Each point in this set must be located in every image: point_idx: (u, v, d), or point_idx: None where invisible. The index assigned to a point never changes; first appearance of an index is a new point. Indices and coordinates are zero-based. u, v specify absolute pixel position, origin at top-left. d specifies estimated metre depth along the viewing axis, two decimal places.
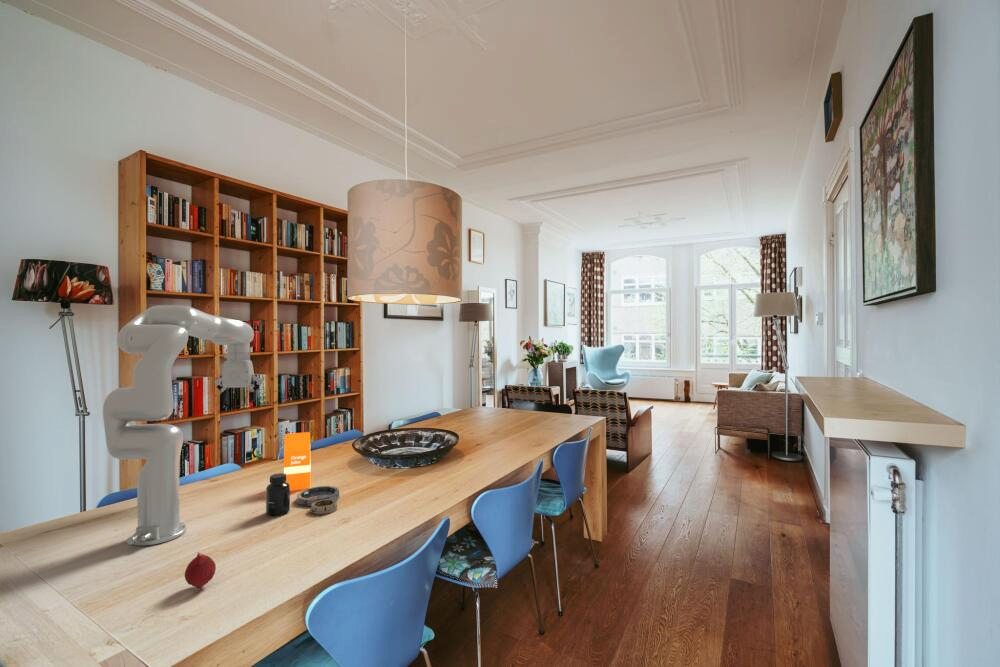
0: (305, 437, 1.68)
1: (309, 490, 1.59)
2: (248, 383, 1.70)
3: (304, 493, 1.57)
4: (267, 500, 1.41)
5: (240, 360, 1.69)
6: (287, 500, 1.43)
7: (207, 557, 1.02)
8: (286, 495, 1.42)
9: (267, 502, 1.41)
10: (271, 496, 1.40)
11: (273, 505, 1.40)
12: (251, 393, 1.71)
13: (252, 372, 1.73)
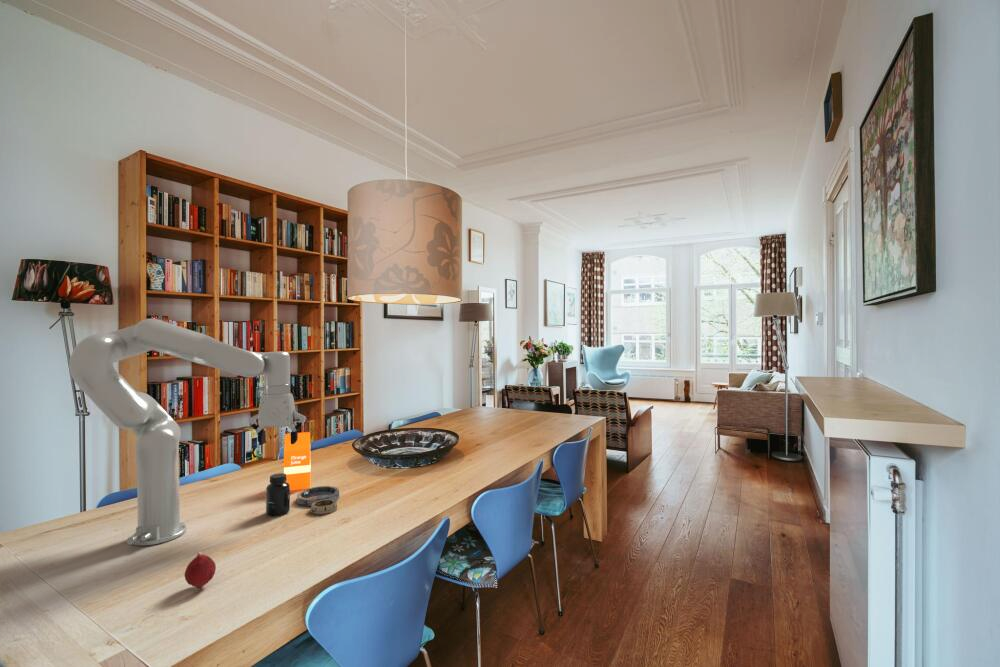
0: (305, 437, 1.68)
1: (309, 490, 1.59)
2: (289, 422, 1.41)
3: (304, 493, 1.57)
4: (267, 500, 1.41)
5: (280, 394, 1.41)
6: (287, 500, 1.43)
7: (207, 557, 1.02)
8: (286, 495, 1.42)
9: (267, 502, 1.41)
10: (271, 496, 1.40)
11: (273, 505, 1.40)
12: (293, 433, 1.43)
13: (293, 408, 1.44)
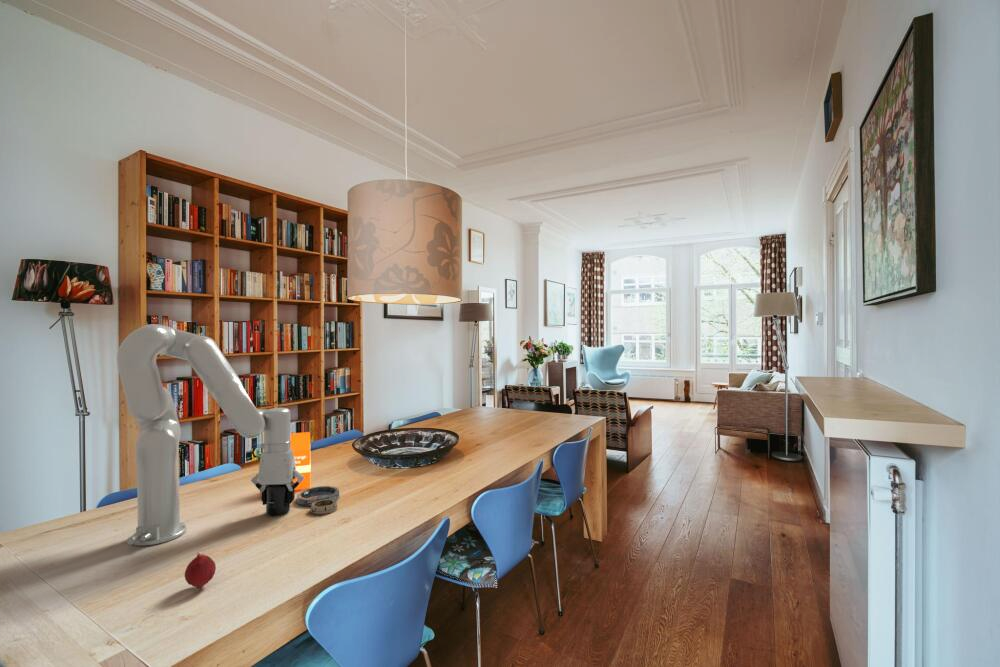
0: (305, 437, 1.68)
1: (309, 490, 1.59)
2: (290, 479, 1.41)
3: (304, 493, 1.57)
4: (267, 500, 1.41)
5: (280, 452, 1.41)
6: None
7: (207, 557, 1.02)
8: (286, 494, 1.43)
9: (267, 502, 1.41)
10: (271, 496, 1.40)
11: (273, 505, 1.40)
12: (289, 493, 1.43)
13: (294, 464, 1.44)
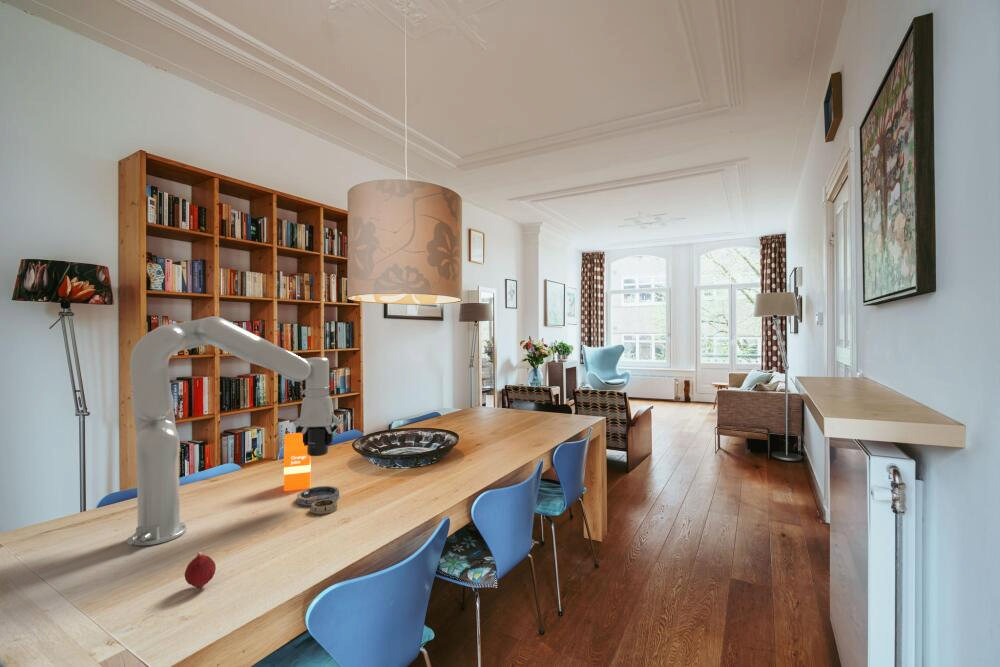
0: None
1: (309, 490, 1.59)
2: (329, 422, 1.53)
3: (304, 493, 1.57)
4: (308, 441, 1.52)
5: (321, 397, 1.52)
6: (326, 442, 1.55)
7: (207, 557, 1.02)
8: (325, 436, 1.54)
9: (308, 443, 1.52)
10: (312, 437, 1.52)
11: (314, 446, 1.52)
12: (328, 435, 1.54)
13: (332, 409, 1.56)
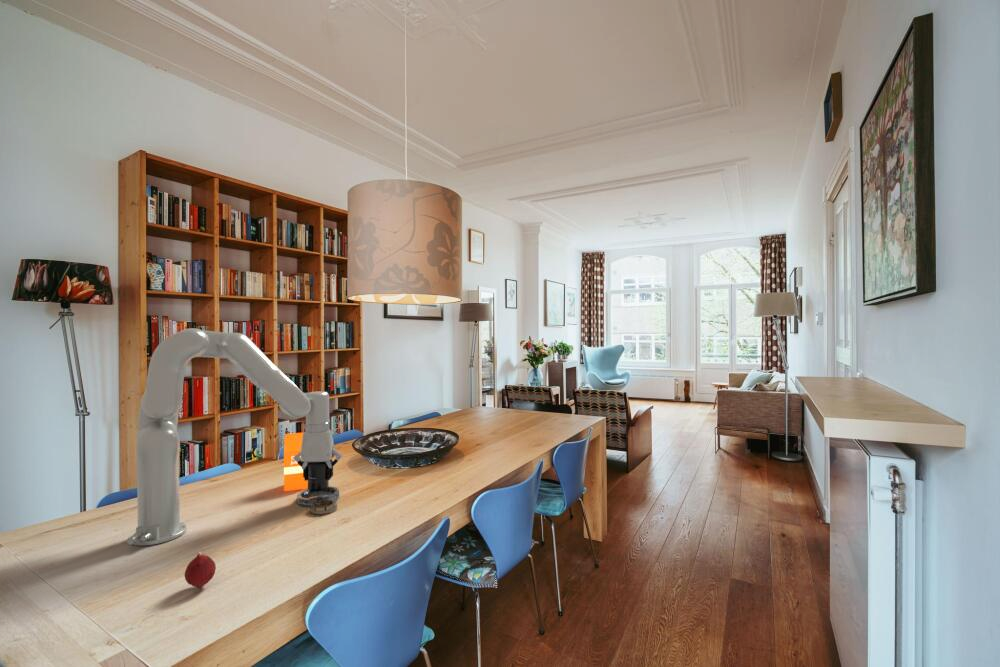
0: None
1: (309, 490, 1.59)
2: (329, 457, 1.53)
3: (304, 493, 1.57)
4: (309, 476, 1.53)
5: (321, 432, 1.52)
6: None
7: (207, 557, 1.02)
8: (326, 471, 1.54)
9: (309, 478, 1.53)
10: (313, 472, 1.52)
11: (315, 481, 1.52)
12: (329, 470, 1.54)
13: (332, 444, 1.56)
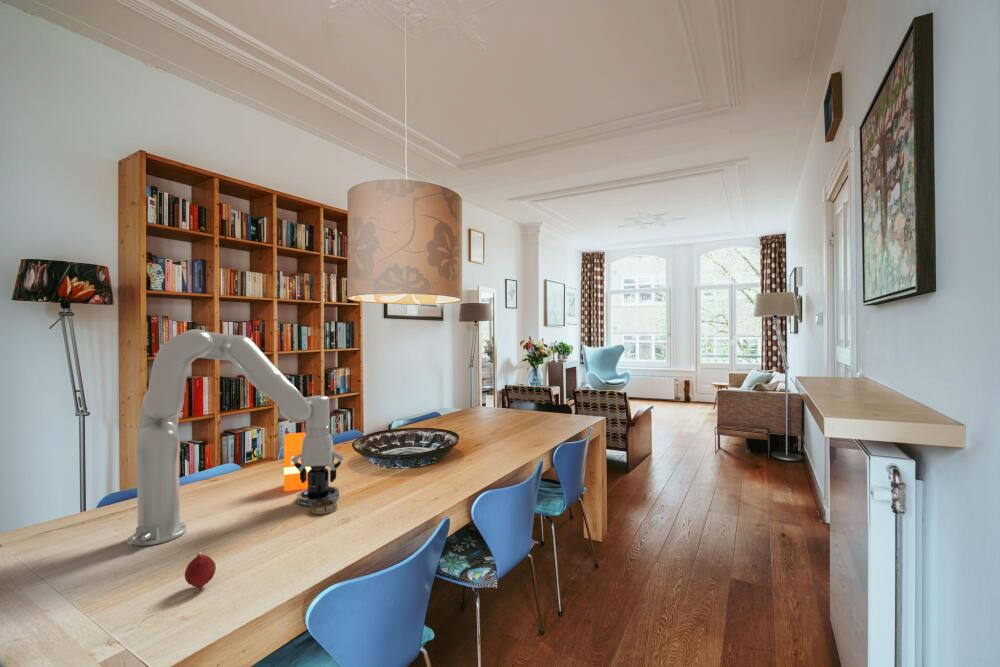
0: None
1: None
2: (329, 461, 1.53)
3: (304, 493, 1.57)
4: (309, 484, 1.52)
5: (321, 436, 1.52)
6: (327, 484, 1.55)
7: (207, 557, 1.02)
8: (326, 479, 1.54)
9: (309, 486, 1.52)
10: (313, 480, 1.52)
11: (315, 489, 1.52)
12: (332, 472, 1.54)
13: (332, 448, 1.56)
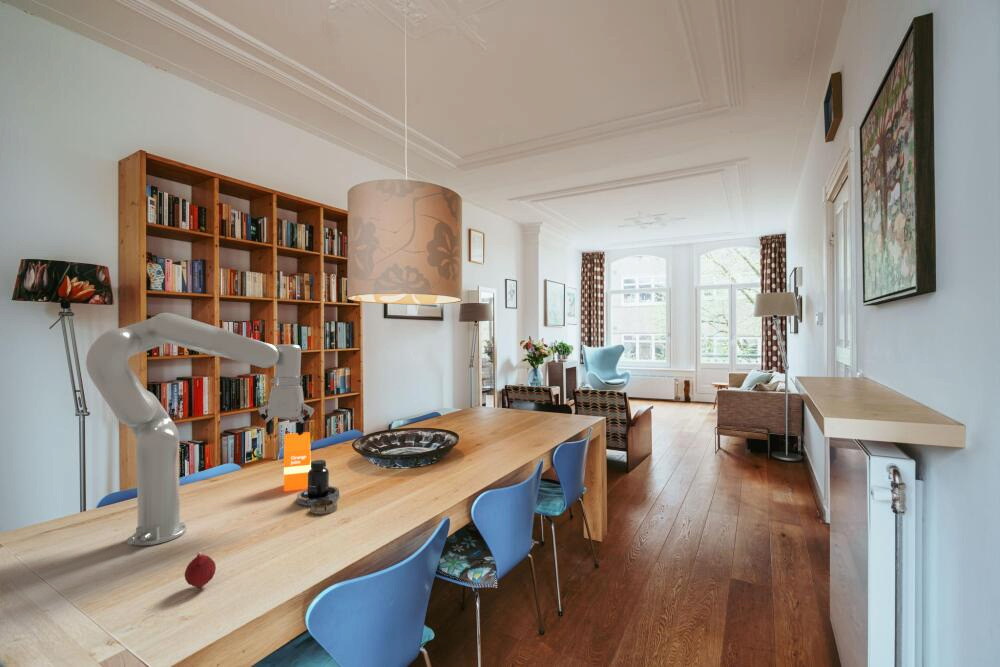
0: (305, 437, 1.68)
1: None
2: (298, 413, 1.45)
3: (304, 493, 1.57)
4: (309, 484, 1.52)
5: (290, 386, 1.45)
6: (327, 484, 1.55)
7: (207, 557, 1.02)
8: (326, 479, 1.54)
9: (309, 486, 1.52)
10: (313, 480, 1.52)
11: (315, 489, 1.52)
12: (300, 424, 1.47)
13: (302, 400, 1.48)
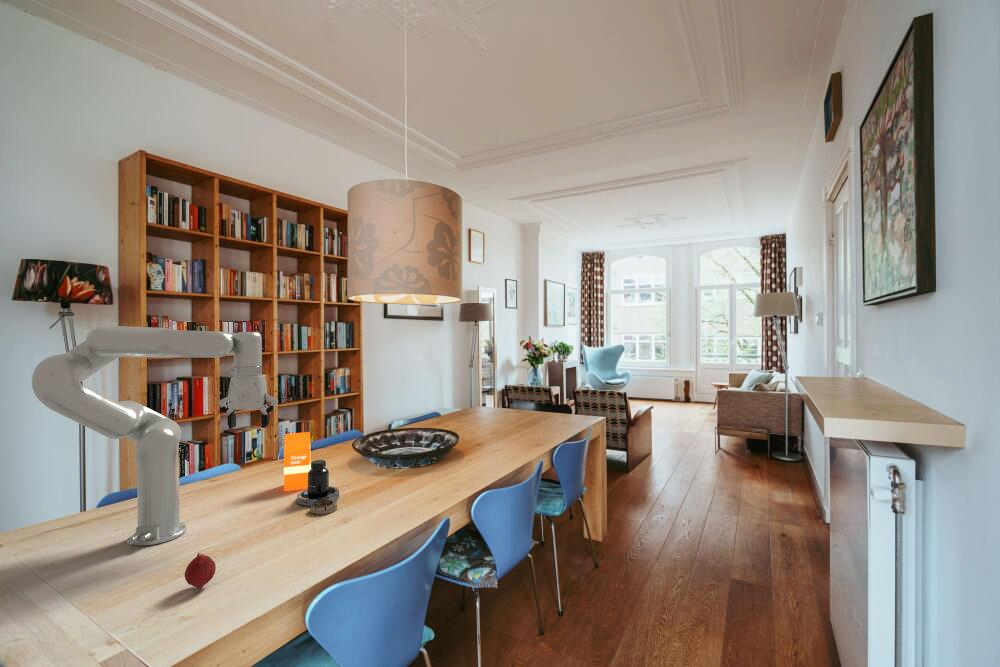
0: (305, 437, 1.68)
1: None
2: (260, 404, 1.37)
3: (304, 493, 1.57)
4: (309, 484, 1.52)
5: (250, 376, 1.36)
6: (327, 484, 1.55)
7: (207, 557, 1.02)
8: (326, 479, 1.54)
9: (309, 486, 1.52)
10: (313, 480, 1.52)
11: (315, 489, 1.52)
12: (264, 416, 1.38)
13: (265, 390, 1.40)
